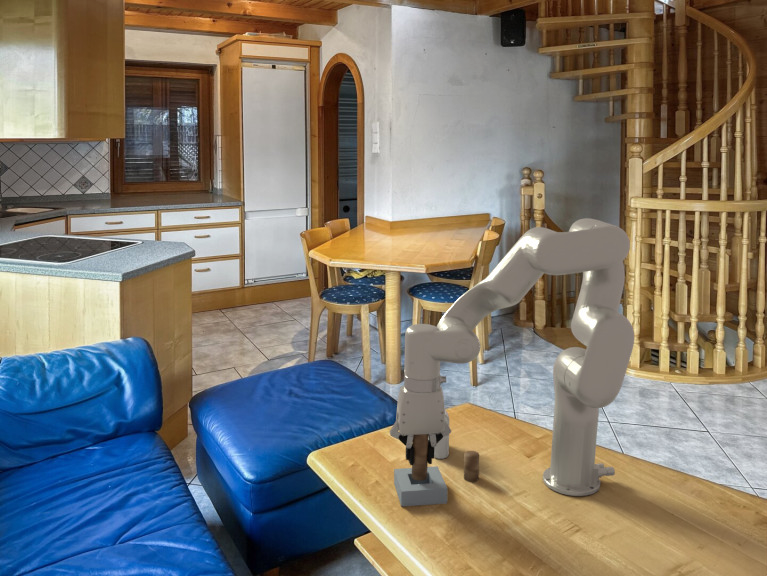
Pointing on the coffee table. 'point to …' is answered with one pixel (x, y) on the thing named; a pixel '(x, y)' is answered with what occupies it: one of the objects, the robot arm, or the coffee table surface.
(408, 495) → the hole block
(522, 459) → the coffee table surface
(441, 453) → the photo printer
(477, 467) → the short dowel
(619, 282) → the robot arm
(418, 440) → the tall dowel
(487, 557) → the coffee table surface
